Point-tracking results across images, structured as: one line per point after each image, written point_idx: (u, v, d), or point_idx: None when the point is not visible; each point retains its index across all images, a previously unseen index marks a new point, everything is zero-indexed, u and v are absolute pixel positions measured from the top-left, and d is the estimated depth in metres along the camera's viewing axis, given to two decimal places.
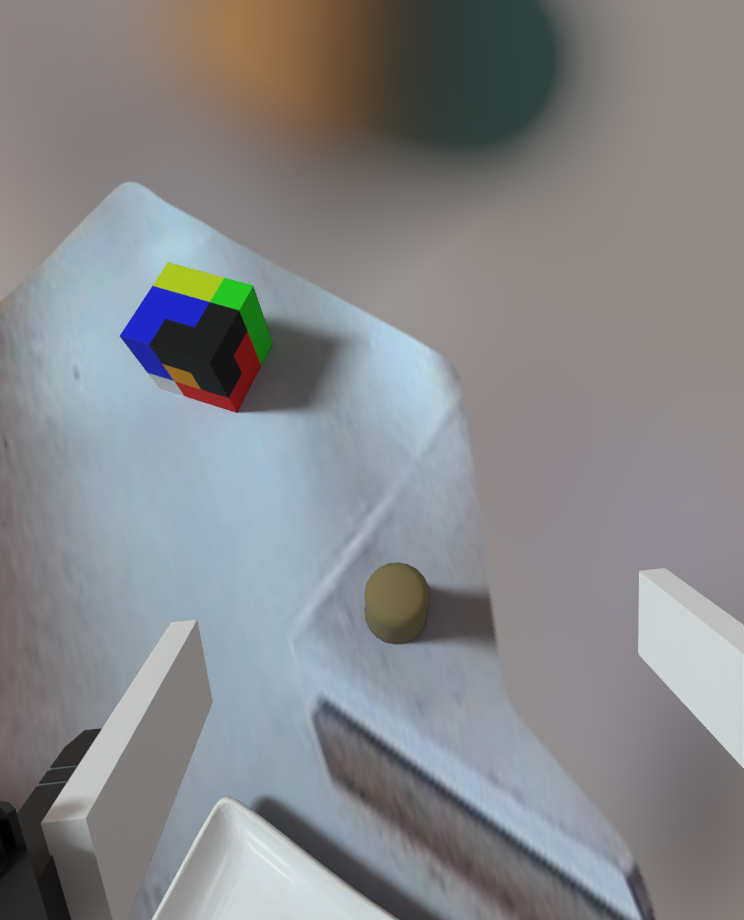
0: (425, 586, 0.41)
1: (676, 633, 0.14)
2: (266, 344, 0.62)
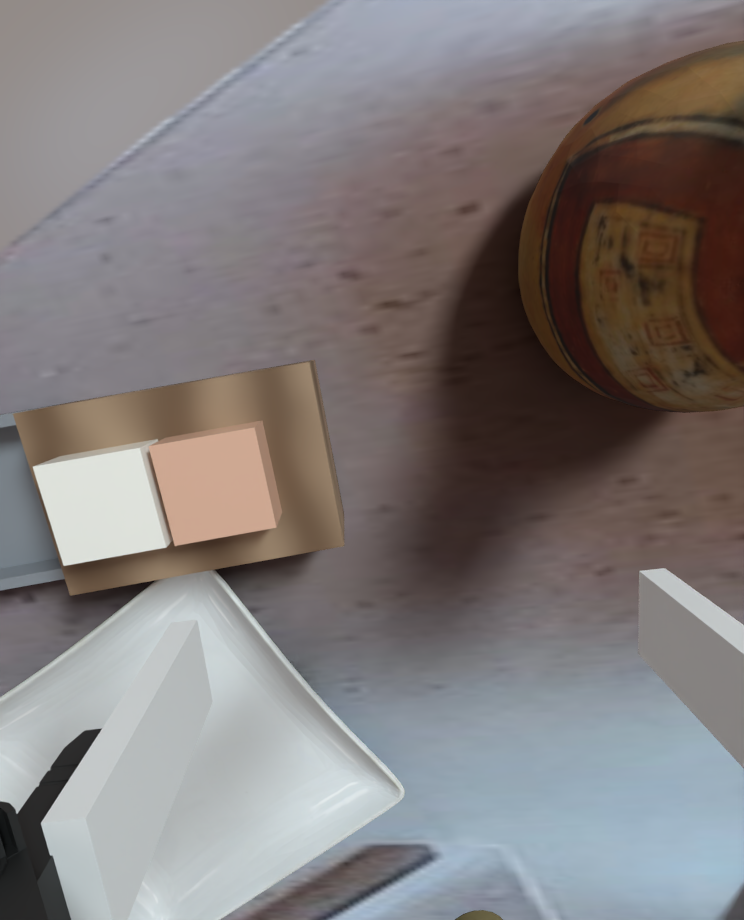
0: None
1: (676, 633, 0.14)
2: None
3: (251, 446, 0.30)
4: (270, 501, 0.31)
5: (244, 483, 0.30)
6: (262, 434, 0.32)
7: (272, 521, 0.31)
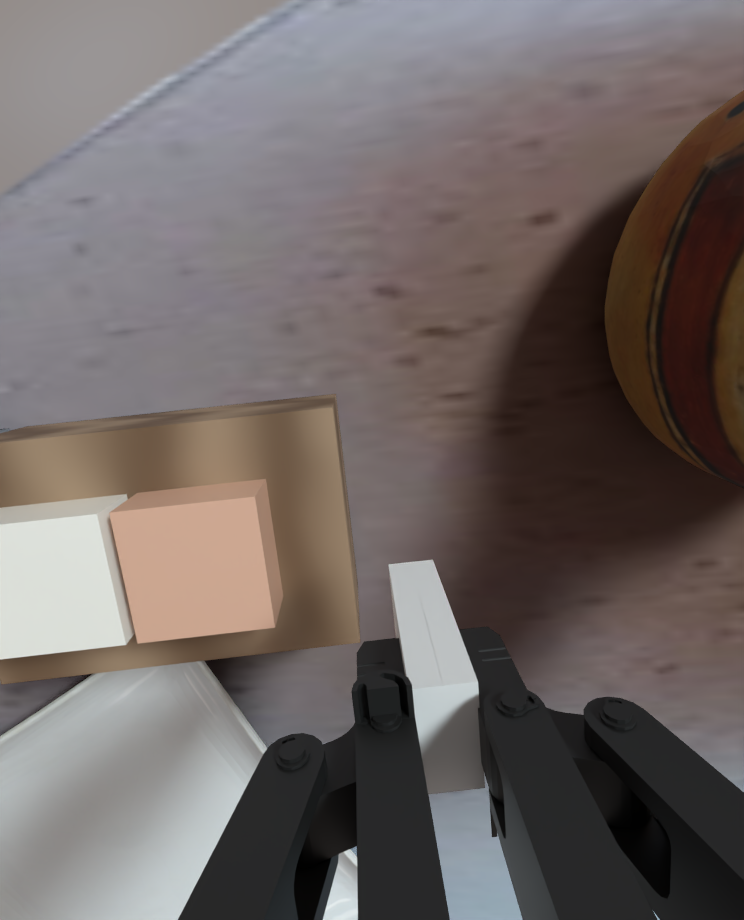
0: None
1: None
2: None
3: (249, 521, 0.22)
4: (269, 593, 0.23)
5: (236, 569, 0.23)
6: (264, 499, 0.24)
7: (270, 619, 0.23)
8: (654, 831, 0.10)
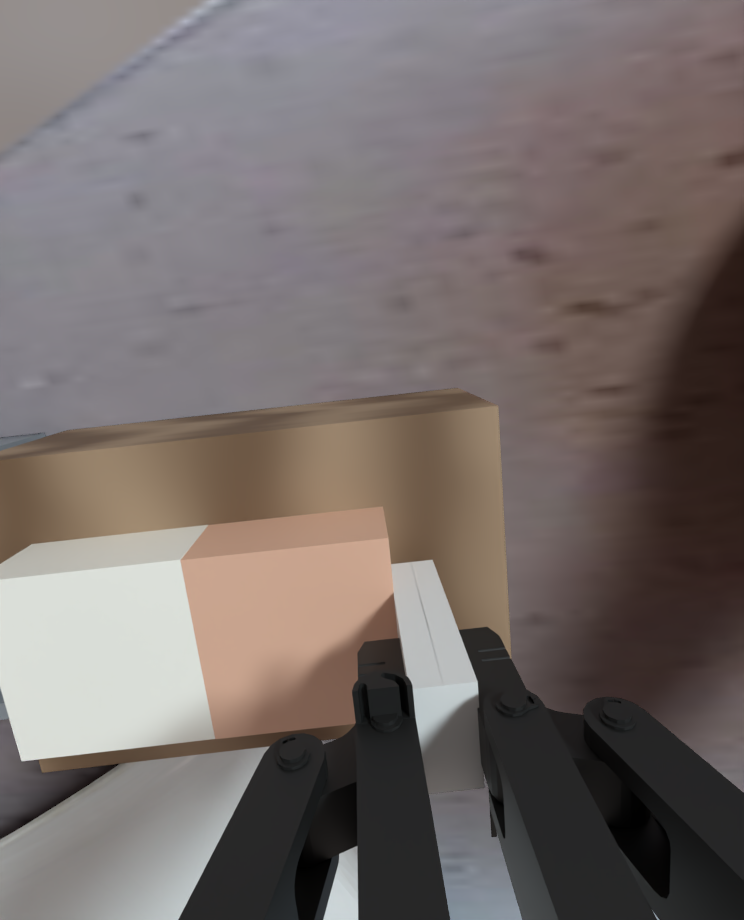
0: None
1: None
2: None
3: (378, 572, 0.15)
4: None
5: (357, 638, 0.16)
6: None
7: None
8: (653, 832, 0.10)
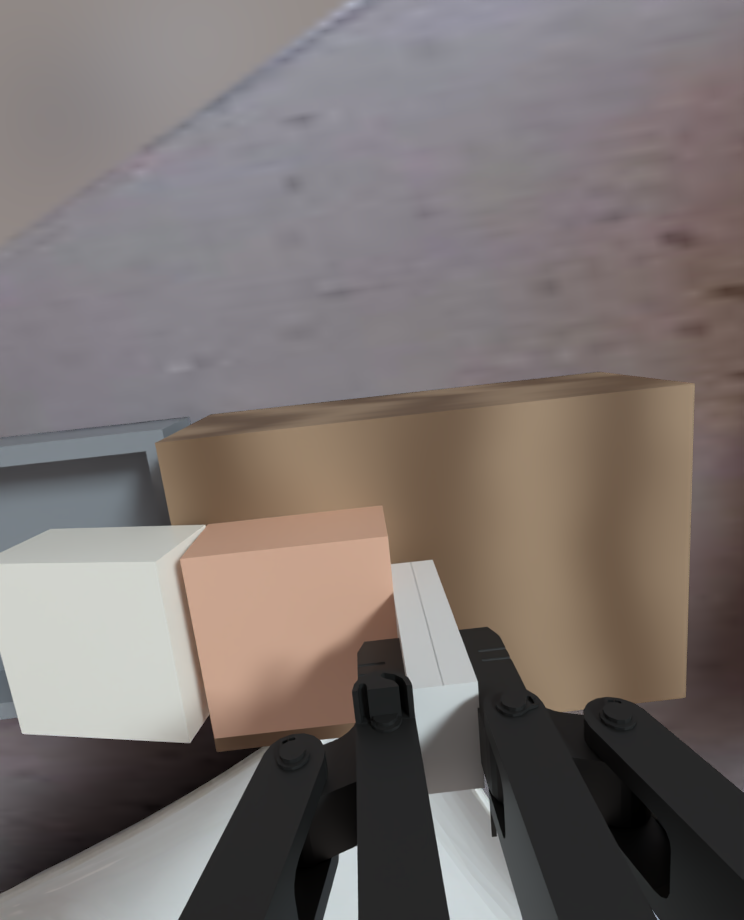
0: None
1: None
2: None
3: (377, 570, 0.15)
4: None
5: (357, 637, 0.16)
6: None
7: None
8: (653, 831, 0.10)
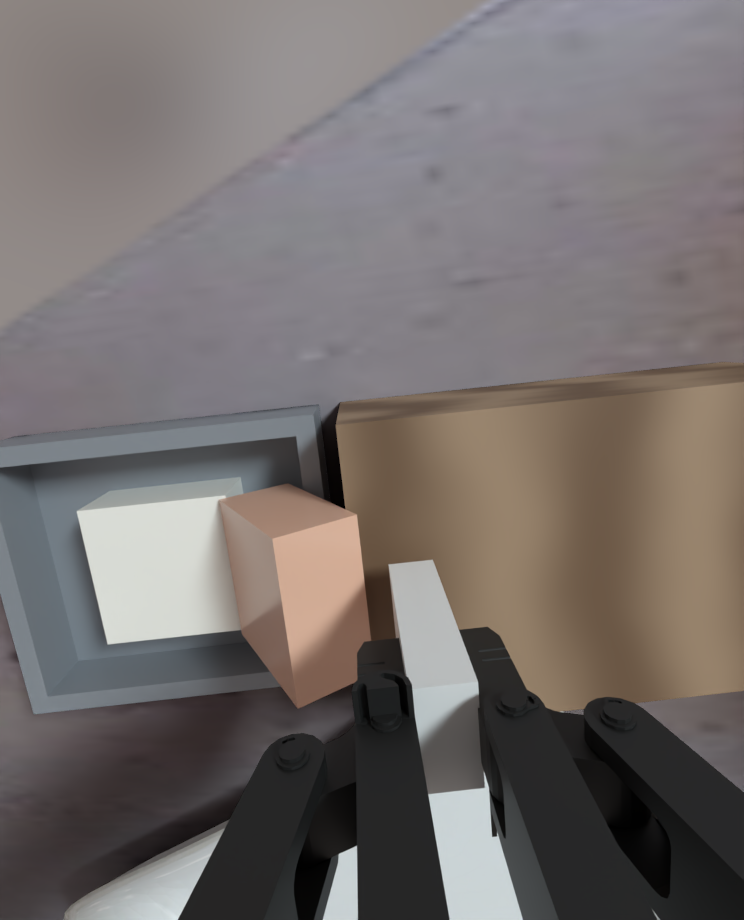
0: None
1: None
2: None
3: (272, 565, 0.17)
4: (293, 664, 0.17)
5: (272, 614, 0.18)
6: (333, 543, 0.17)
7: (294, 695, 0.18)
8: (653, 831, 0.10)
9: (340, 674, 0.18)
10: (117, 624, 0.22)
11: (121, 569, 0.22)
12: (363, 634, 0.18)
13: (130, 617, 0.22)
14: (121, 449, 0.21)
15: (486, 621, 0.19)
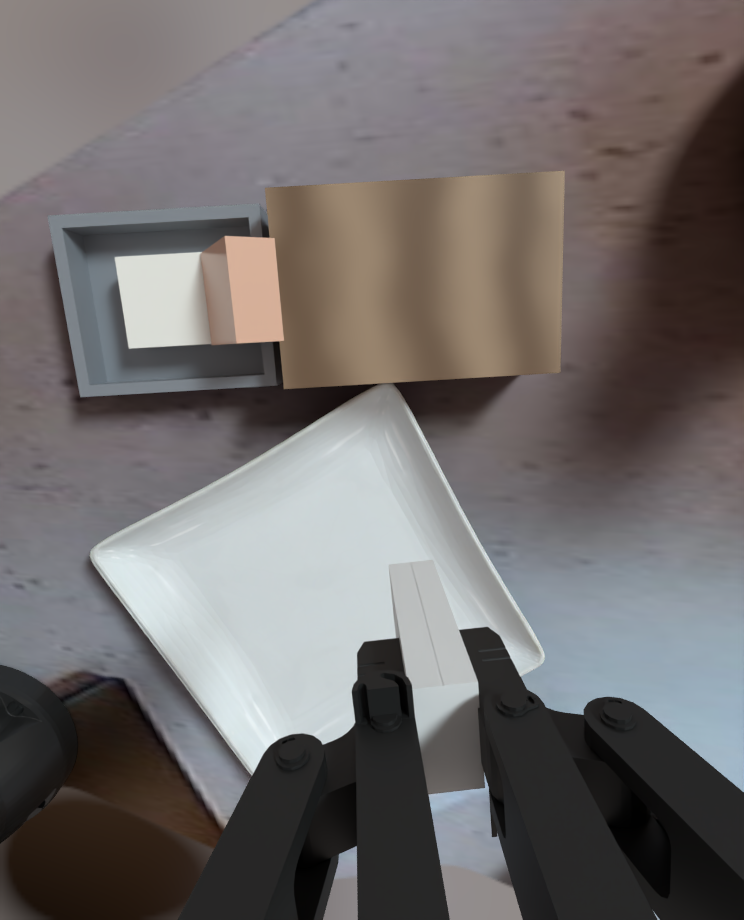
0: None
1: None
2: None
3: (224, 256, 0.31)
4: (234, 315, 0.31)
5: (225, 294, 0.32)
6: (259, 250, 0.31)
7: (234, 336, 0.32)
8: (653, 832, 0.10)
9: (262, 332, 0.32)
10: (135, 335, 0.36)
11: (139, 297, 0.36)
12: (277, 313, 0.32)
13: (143, 330, 0.36)
14: (143, 219, 0.35)
15: (351, 318, 0.33)
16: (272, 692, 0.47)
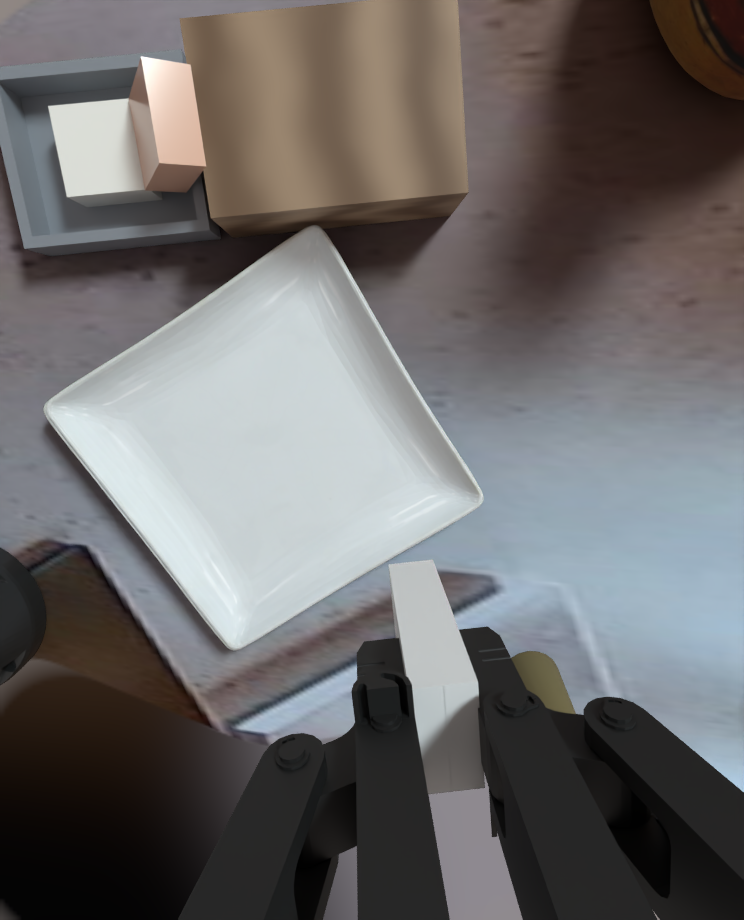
0: None
1: None
2: None
3: (143, 78, 0.33)
4: (155, 135, 0.34)
5: (147, 120, 0.34)
6: (176, 74, 0.34)
7: (157, 156, 0.34)
8: (654, 831, 0.10)
9: (184, 155, 0.35)
10: (72, 183, 0.39)
11: (73, 145, 0.38)
12: (197, 138, 0.35)
13: (79, 178, 0.39)
14: (73, 69, 0.37)
15: (269, 145, 0.36)
16: (229, 552, 0.49)
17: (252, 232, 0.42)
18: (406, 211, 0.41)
